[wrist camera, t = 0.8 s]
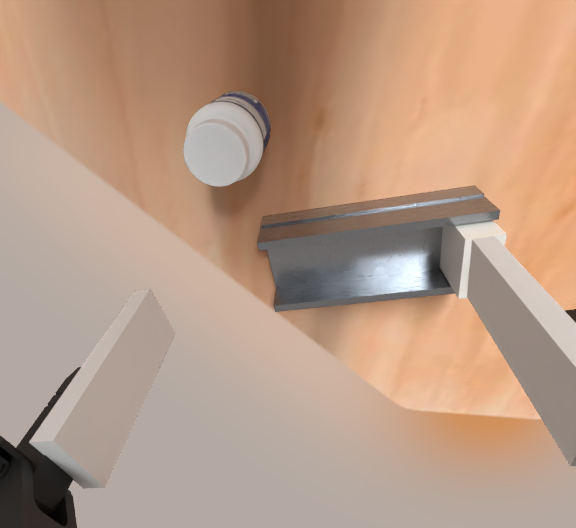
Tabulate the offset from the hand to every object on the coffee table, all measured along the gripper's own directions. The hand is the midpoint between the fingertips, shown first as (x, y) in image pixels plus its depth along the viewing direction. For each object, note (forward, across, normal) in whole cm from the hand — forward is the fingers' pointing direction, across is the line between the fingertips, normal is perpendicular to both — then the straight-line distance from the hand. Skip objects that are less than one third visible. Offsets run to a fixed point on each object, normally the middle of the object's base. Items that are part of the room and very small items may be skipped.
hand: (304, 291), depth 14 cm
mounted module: (+17, +13, -10) cm, 24 cm away
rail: (+19, +4, -10) cm, 22 cm away
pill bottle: (+20, -5, +4) cm, 21 cm away
